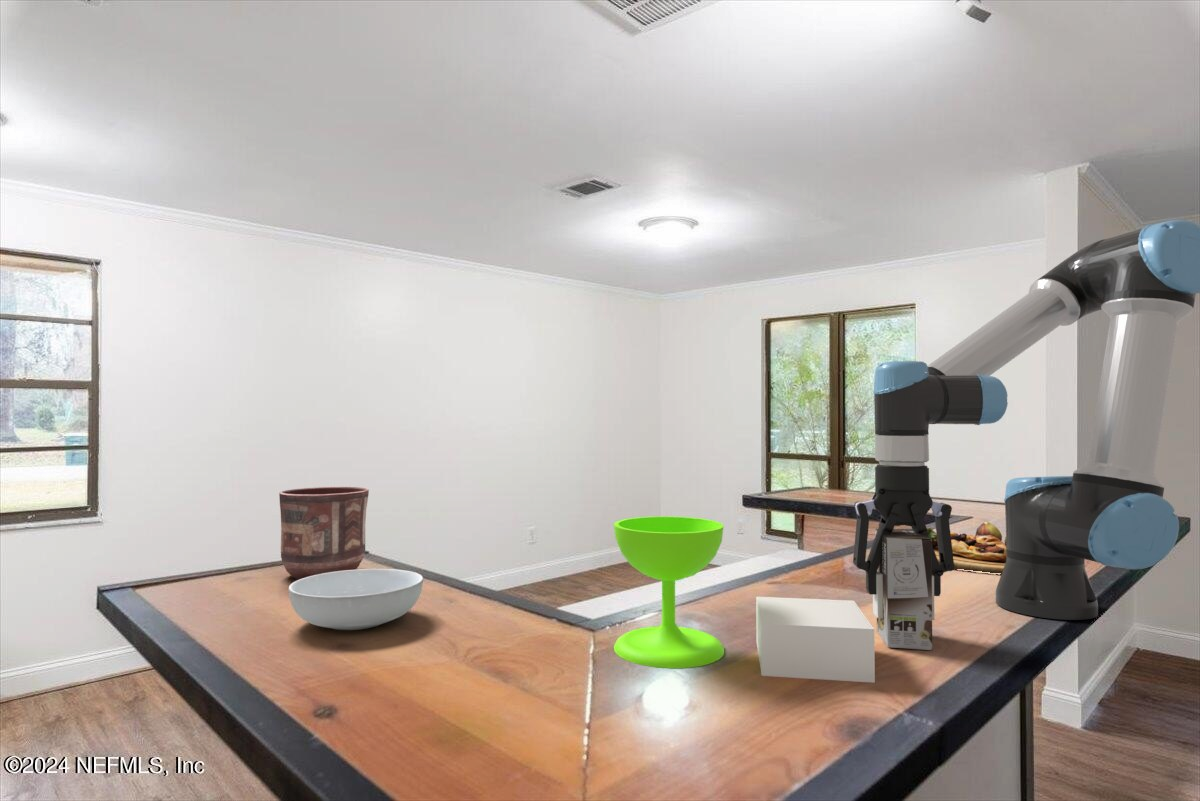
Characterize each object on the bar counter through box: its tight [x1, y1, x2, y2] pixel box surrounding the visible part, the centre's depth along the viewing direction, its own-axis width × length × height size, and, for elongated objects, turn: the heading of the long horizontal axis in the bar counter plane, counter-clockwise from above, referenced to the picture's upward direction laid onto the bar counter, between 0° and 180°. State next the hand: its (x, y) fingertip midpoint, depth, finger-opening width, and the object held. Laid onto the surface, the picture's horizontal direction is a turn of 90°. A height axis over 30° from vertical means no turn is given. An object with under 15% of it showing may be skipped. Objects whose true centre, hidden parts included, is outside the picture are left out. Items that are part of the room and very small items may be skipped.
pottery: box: [279, 486, 370, 581], centre depth 150 cm, size 18×18×18 cm
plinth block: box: [755, 596, 876, 683], centre depth 97 cm, size 14×14×7 cm
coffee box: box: [874, 528, 933, 651], centre depth 106 cm, size 9×6×16 cm
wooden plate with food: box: [926, 521, 1006, 574], centre depth 164 cm, size 32×32×8 cm
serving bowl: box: [288, 568, 424, 631], centre depth 115 cm, size 21×21×7 cm
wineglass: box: [613, 515, 725, 669], centre depth 102 cm, size 16×16×18 cm
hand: (903, 616), depth 106 cm, fingers closed on coffee box, 7 cm apart
